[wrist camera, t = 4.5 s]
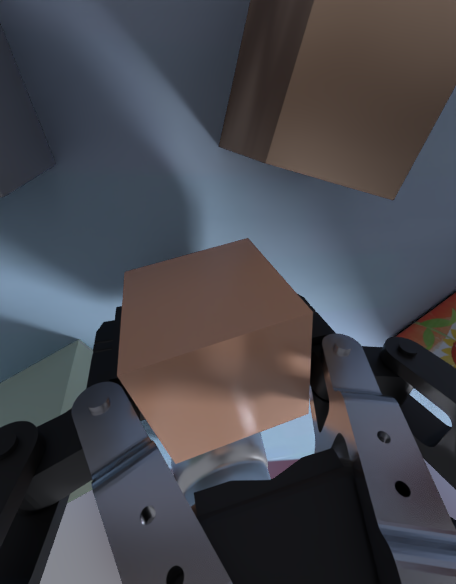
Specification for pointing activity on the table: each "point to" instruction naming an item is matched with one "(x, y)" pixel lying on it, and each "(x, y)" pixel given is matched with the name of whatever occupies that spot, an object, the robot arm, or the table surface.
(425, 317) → the cracker box
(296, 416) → the terracotta cube
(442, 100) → the walnut cube
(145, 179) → the table surface
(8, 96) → the charcoal cube
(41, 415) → the sage cube
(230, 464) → the plastic bottle
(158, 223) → the table surface
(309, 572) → the robot arm
